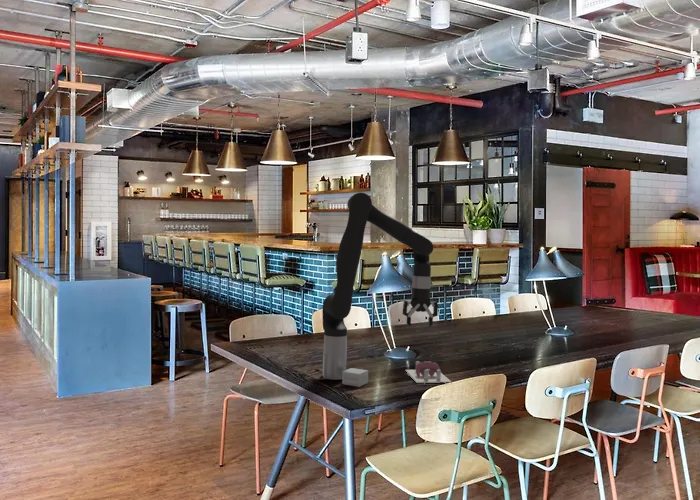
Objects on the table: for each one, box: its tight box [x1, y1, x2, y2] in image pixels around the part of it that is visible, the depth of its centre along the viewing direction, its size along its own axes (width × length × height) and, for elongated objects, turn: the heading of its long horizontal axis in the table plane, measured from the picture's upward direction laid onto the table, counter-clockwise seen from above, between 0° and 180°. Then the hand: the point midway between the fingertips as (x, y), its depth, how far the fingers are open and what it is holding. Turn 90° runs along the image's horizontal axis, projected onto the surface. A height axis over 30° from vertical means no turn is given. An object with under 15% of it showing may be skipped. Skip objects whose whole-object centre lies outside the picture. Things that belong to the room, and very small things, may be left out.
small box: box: [341, 367, 369, 388], centre depth 246 cm, size 8×8×5 cm
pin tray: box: [405, 360, 452, 385], centre depth 258 cm, size 14×20×5 cm
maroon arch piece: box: [415, 360, 441, 377], centre depth 257 cm, size 10×5×7 cm, turn 92°
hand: (419, 326), depth 260 cm, fingers open, 8 cm apart
